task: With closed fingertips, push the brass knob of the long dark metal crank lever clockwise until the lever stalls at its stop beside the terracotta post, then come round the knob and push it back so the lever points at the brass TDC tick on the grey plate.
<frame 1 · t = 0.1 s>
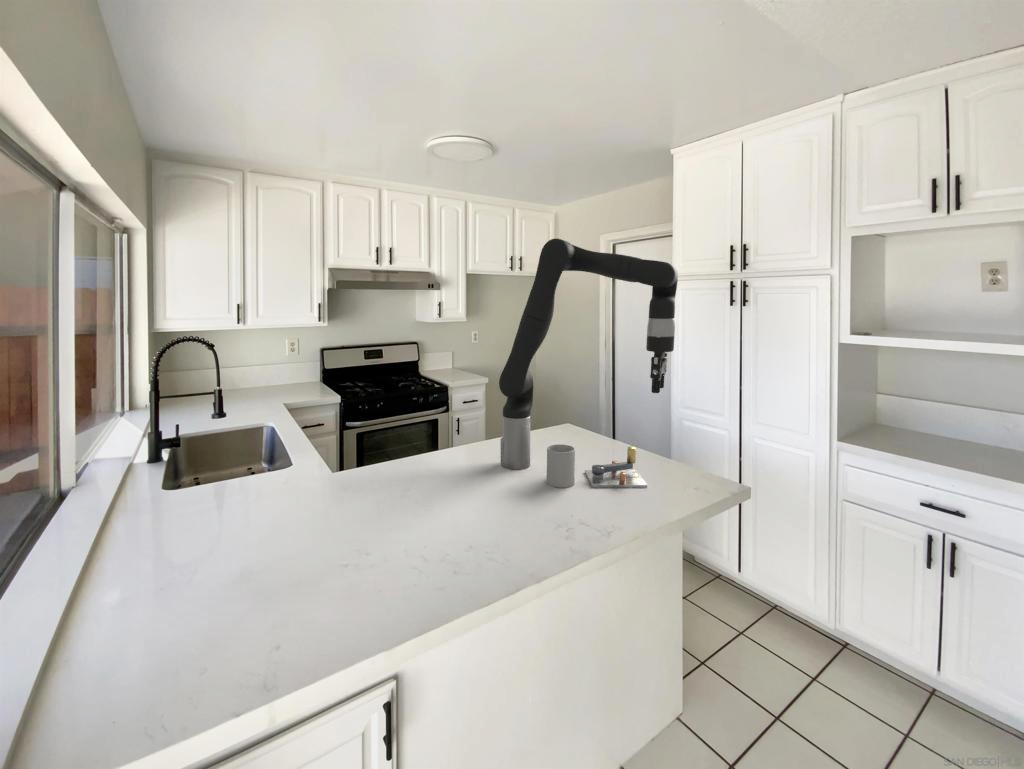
hand: (657, 390, 141), 29 cm above the counter, fingers open, 8 cm apart
mug: (559, 481, 150), on the counter
crank base: (597, 479, 151), on the counter
crank lever: (614, 460, 152), point 6 cm above the counter, hinge at 20.0°
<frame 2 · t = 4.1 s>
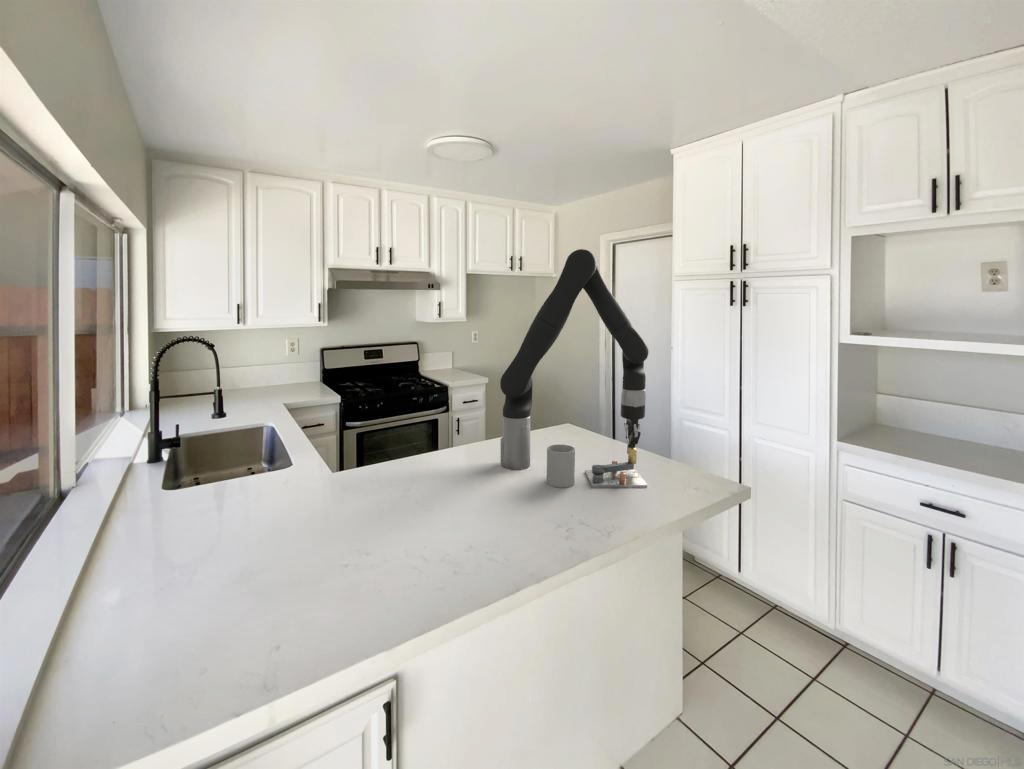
hand: (631, 454, 157), 6 cm above the counter, fingers closed
crank lever: (614, 460, 152), point 6 cm above the counter, hinge at 17.4°, touching gripper
everything else where it was.
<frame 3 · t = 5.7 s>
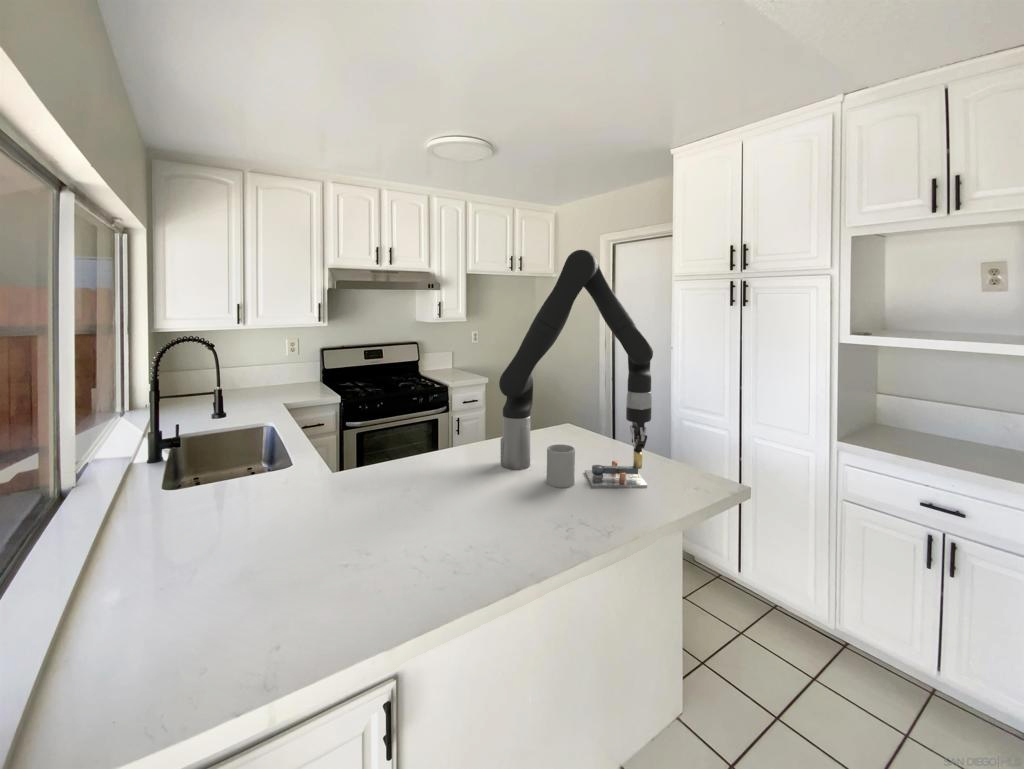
hand: (637, 459, 153), 6 cm above the counter, fingers closed
crank lever: (617, 462, 150), point 6 cm above the counter, hinge at -4.4°, touching gripper
everything else where it was.
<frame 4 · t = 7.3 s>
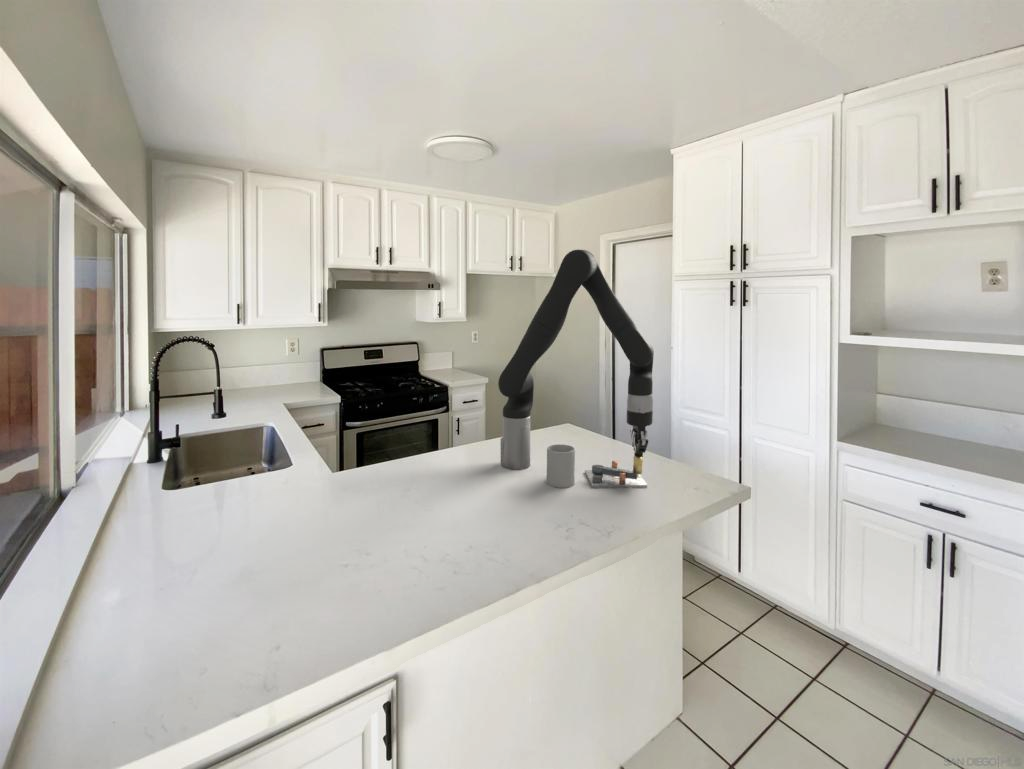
hand: (638, 463, 148), 6 cm above the counter, fingers closed
crank lever: (616, 464, 147), point 6 cm above the counter, hinge at -26.9°, touching gripper
everything else where it was.
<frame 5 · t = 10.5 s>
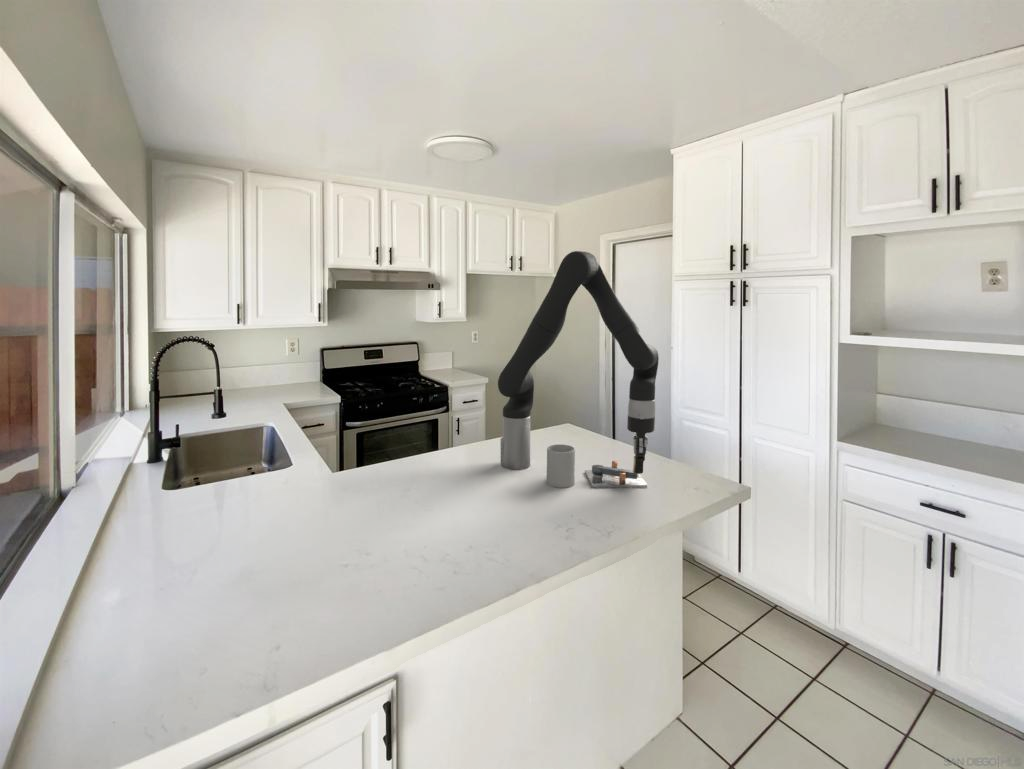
hand: (638, 472, 141), 6 cm above the counter, fingers closed
crank lever: (616, 464, 148), point 6 cm above the counter, hinge at -25.4°, touching gripper
everything else where it was.
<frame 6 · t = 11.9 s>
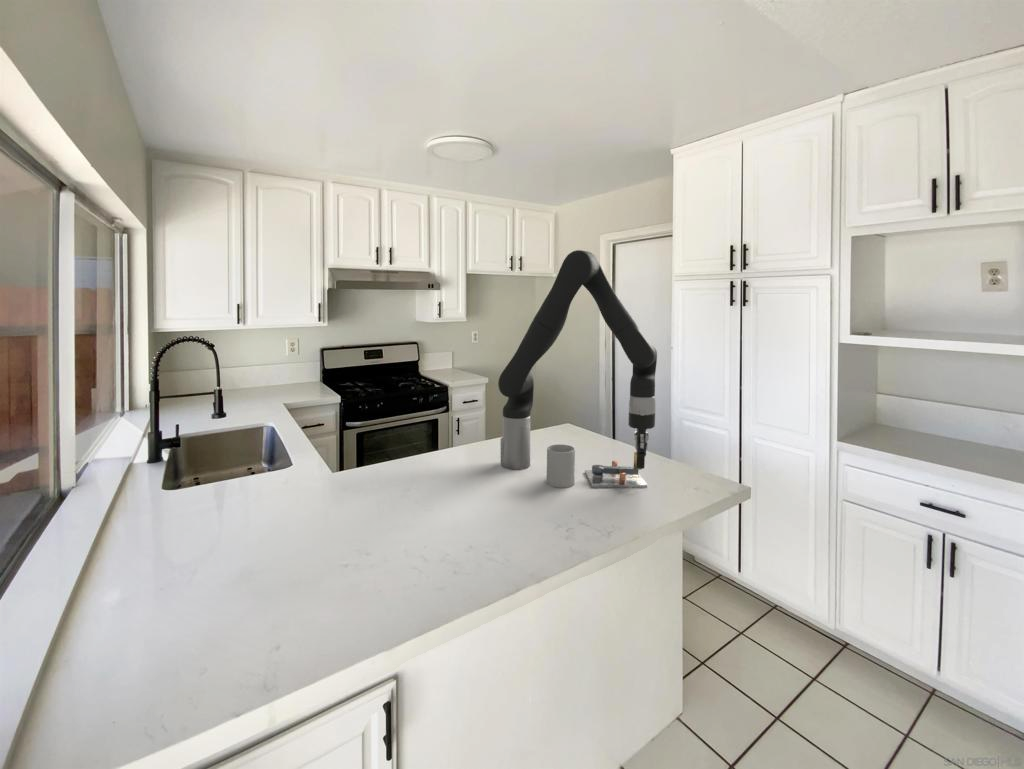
hand: (640, 467, 145), 6 cm above the counter, fingers closed
crank lever: (617, 462, 149), point 6 cm above the counter, hinge at -7.0°, touching gripper
everything else where it was.
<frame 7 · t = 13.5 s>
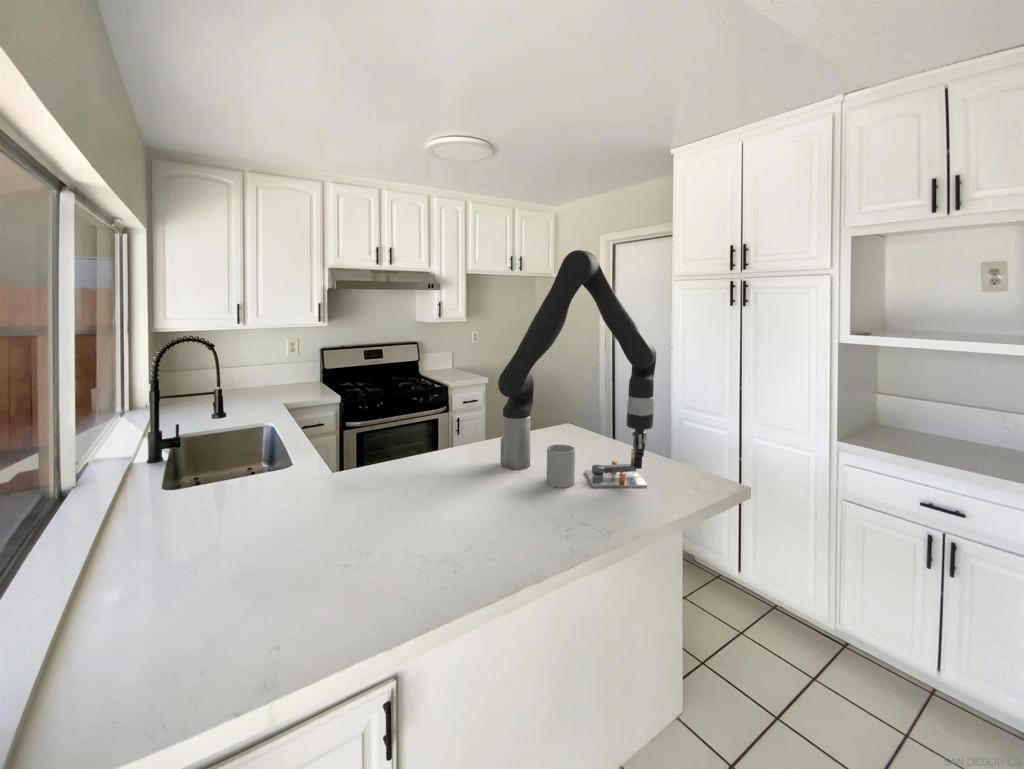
hand: (637, 467, 145), 6 cm above the counter, fingers closed
crank lever: (616, 461, 151), point 6 cm above the counter, hinge at 8.3°
everything else where it was.
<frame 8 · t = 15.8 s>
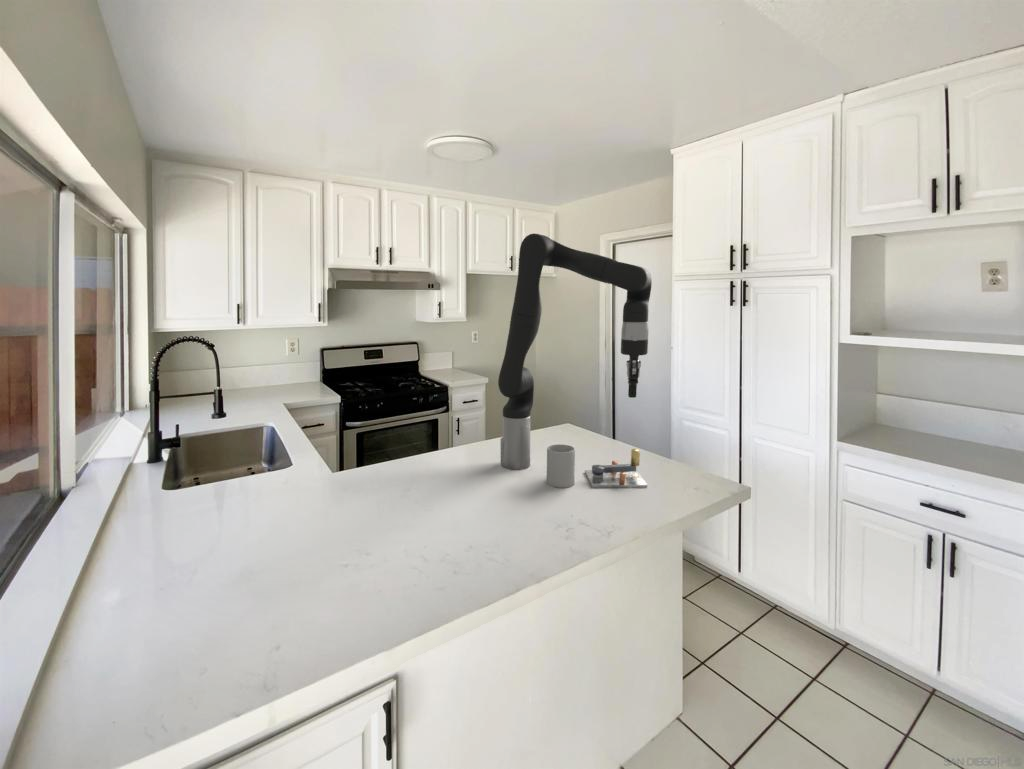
hand: (632, 397, 142), 27 cm above the counter, fingers closed
nothing on the counter moved.
at the end: crank lever at +8° (first picture: +20°); mug moved 0.2 cm from its start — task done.
